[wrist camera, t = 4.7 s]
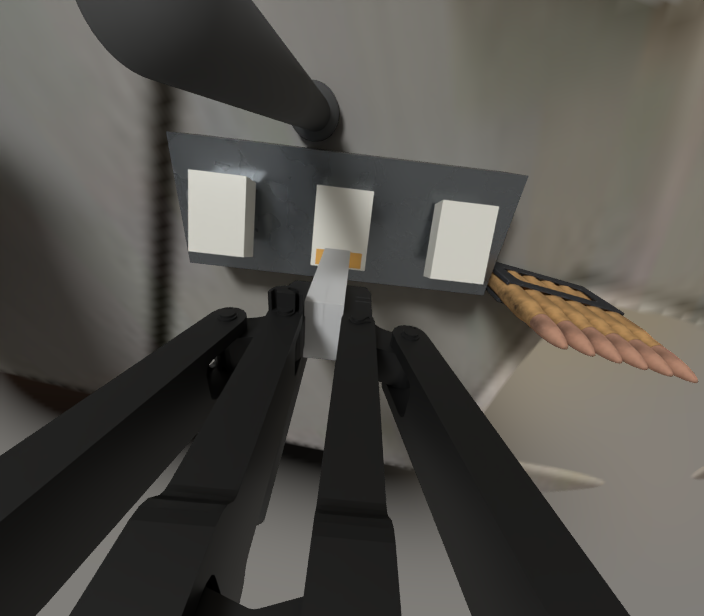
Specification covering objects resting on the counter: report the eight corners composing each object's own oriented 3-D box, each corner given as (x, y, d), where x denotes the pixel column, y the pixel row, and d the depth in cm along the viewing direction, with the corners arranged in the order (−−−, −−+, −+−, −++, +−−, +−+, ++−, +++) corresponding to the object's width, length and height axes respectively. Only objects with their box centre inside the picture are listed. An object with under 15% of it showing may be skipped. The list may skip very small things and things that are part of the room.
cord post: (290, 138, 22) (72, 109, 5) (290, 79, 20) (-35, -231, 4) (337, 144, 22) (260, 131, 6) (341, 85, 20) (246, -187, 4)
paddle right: (423, 276, 21) (430, 278, 19) (435, 204, 20) (443, 199, 18) (471, 281, 21) (483, 284, 19) (486, 210, 20) (499, 206, 18)
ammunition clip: (584, 287, 27) (724, 374, 17) (572, 303, 28) (696, 396, 18) (481, 257, 26) (561, 331, 16) (472, 275, 27) (541, 356, 16)
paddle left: (202, 250, 20) (188, 251, 18) (203, 176, 19) (187, 169, 18) (252, 256, 20) (243, 257, 19) (256, 182, 19) (246, 176, 18)
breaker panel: (213, 247, 26) (190, 262, 23) (197, 134, 22) (166, 131, 18) (467, 276, 27) (483, 295, 23) (502, 171, 22) (528, 175, 19)
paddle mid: (314, 263, 20) (310, 264, 19) (320, 190, 19) (317, 184, 18) (363, 269, 21) (364, 271, 19) (372, 196, 20) (374, 191, 18)
